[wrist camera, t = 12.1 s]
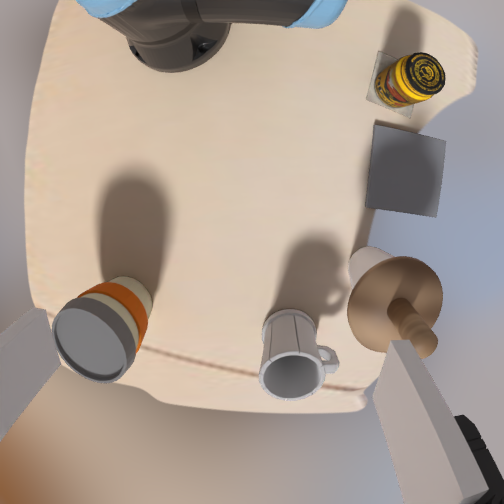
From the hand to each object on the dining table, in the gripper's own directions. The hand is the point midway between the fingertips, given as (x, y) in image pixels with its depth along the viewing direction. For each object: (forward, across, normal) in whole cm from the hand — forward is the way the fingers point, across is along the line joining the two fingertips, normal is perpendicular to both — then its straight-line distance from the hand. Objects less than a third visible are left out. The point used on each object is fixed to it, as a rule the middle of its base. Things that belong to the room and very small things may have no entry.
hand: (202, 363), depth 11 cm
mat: (+36, +22, +6) cm, 43 cm away
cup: (+36, +7, -21) cm, 42 cm away
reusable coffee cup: (+36, -21, -18) cm, 45 cm away
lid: (+23, +18, -9) cm, 30 cm away
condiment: (+37, +20, +19) cm, 46 cm away
